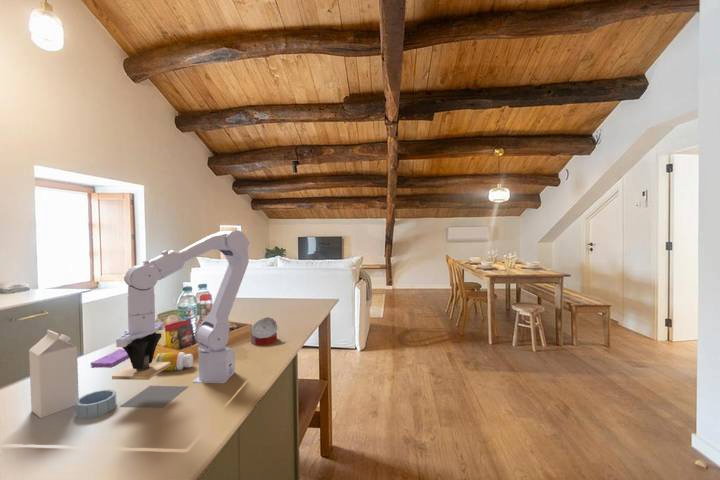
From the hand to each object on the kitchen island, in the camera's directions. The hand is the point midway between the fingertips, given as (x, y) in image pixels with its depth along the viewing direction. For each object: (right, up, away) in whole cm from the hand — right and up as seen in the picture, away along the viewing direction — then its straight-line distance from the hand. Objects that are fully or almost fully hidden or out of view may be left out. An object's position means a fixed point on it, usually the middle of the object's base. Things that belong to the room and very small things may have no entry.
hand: (142, 365), depth 85 cm
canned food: (+18, -8, +46) cm, 50 cm away
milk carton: (-19, -10, -3) cm, 22 cm away
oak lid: (0, -2, 0) cm, 2 cm away
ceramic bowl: (-8, -9, -5) cm, 13 cm away
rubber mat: (+2, -9, +2) cm, 9 cm away
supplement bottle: (-7, -6, +18) cm, 21 cm away
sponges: (-28, -9, +28) cm, 41 cm away
